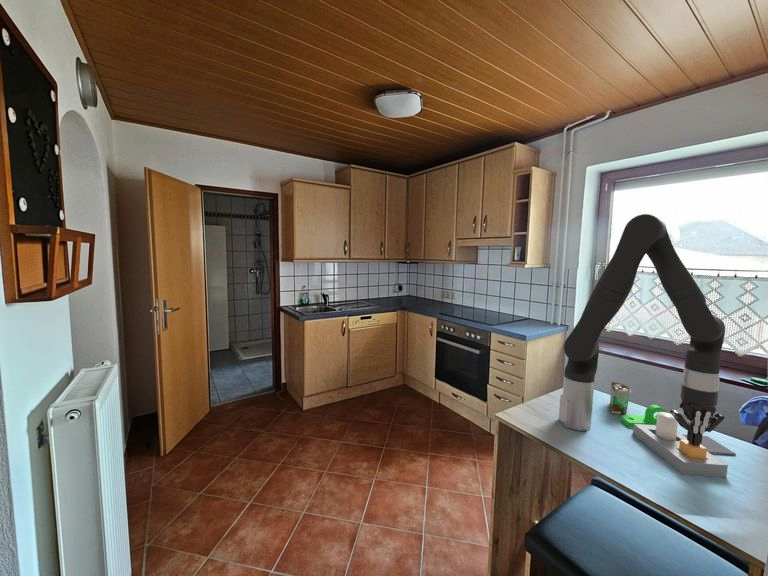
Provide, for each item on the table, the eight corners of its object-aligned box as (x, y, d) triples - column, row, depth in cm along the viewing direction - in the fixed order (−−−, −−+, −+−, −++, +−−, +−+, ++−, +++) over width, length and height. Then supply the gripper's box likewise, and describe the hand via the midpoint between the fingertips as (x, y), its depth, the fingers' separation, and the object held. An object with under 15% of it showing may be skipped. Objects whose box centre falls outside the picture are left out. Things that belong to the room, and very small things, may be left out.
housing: (682, 474, 90) (684, 462, 90) (632, 433, 111) (633, 423, 111) (726, 477, 89) (727, 465, 89) (667, 435, 110) (668, 425, 110)
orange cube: (689, 462, 92) (691, 447, 92) (678, 454, 96) (680, 439, 96) (705, 463, 92) (706, 448, 92) (693, 455, 96) (694, 440, 96)
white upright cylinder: (662, 449, 102) (665, 419, 101) (650, 440, 107) (653, 411, 106) (679, 450, 102) (682, 420, 101) (667, 441, 107) (670, 412, 106)
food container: (631, 420, 120) (634, 394, 119) (611, 416, 124) (613, 390, 123) (628, 408, 131) (630, 383, 130) (609, 404, 134) (611, 380, 133)
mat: (700, 453, 101) (700, 451, 101) (674, 435, 110) (674, 433, 110) (735, 455, 100) (736, 453, 100) (706, 437, 110) (707, 435, 109)
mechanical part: (651, 421, 121) (653, 400, 120) (664, 429, 115) (666, 407, 114) (617, 419, 121) (619, 398, 121) (628, 428, 115) (630, 406, 115)
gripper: (685, 389, 89) (679, 450, 91) (738, 392, 88) (731, 453, 89) (664, 379, 97) (659, 435, 98) (713, 381, 95) (707, 438, 97)
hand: (693, 444), depth 94 cm, fingers closed
